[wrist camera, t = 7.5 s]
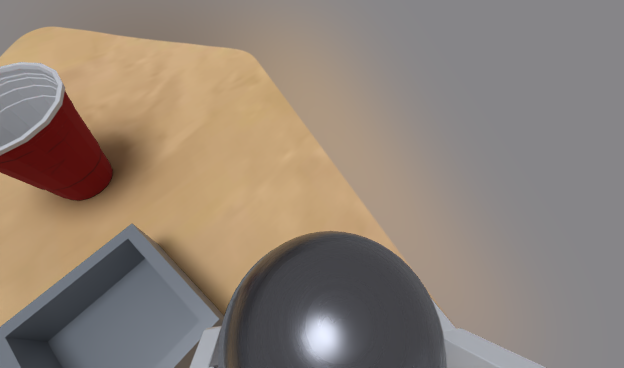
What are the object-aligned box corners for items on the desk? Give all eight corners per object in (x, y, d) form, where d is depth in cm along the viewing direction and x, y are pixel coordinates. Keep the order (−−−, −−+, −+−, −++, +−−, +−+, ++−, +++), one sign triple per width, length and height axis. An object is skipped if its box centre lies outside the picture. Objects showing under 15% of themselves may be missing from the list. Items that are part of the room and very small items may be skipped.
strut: (374, 332, 14) (523, 239, 4) (347, 431, 12) (499, 710, 2) (299, 298, 15) (268, 151, 5) (262, 385, 13) (88, 435, 3)
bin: (234, 327, 26) (219, 319, 22) (108, 467, 21) (59, 489, 17) (157, 243, 30) (132, 223, 26) (37, 344, 26) (-15, 338, 22)
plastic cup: (13, 207, 33) (-123, 134, 23) (81, 137, 38) (-4, 53, 28) (92, 236, 31) (-18, 169, 21) (152, 157, 36) (88, 74, 26)
